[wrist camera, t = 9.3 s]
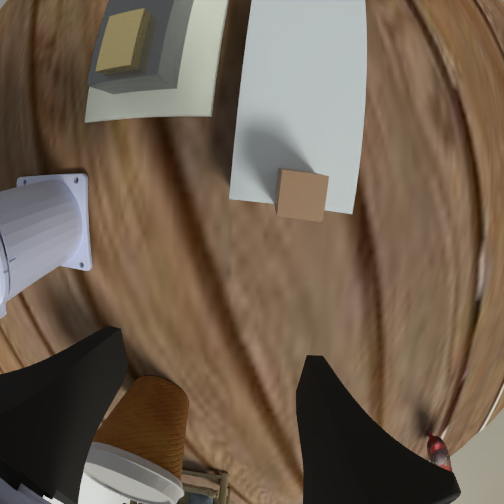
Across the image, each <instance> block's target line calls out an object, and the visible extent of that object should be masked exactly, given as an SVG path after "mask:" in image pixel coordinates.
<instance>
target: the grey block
mask: <svg viewBox="0 0 504 504" xmlns="http://www.w3.org/2000/svg"><path fill="white" fill-rule="evenodd" d="M193 2H194V0H109V3H108V5H107V8H106V11H105V14H104V17H103V20H102V23H101V27H100V30H99V33H98V37H97V41H96V44H95V48H94V52H93V57H92V61H91V65H90V70H89V75H88V80H87V86H89V87H93V88H96V89H99V90H102V91H105V92H108V93H111V94H120V93H128V92H137V91H148V90H162V89H177V84H178V77H179V71H180V65H181V59H182V53H183V48H184V42H185V37H186V32H187V28H188V23H189V18H190V14H191V10H192V6H193Z"/></svg>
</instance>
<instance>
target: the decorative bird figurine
mask: <svg viewBox="0 0 504 504" xmlns="http://www.w3.org/2000/svg"><path fill="white" fill-rule="evenodd" d="M428 432H429V434H428V436H429V438H430V439H429V441H428V443H427V451H428V456H429V459H430V461H431V463H433V464H435V465H437V466H439V467H442V468H444V469H446V470H448V471H451V472H452V468H451V462H450V457H449V453H448V450H447V447H446V445H445V443H444V442H443V440H442V439H441V438H440V437H438V436H433V435H432V433H431V432H430V430H429V429H428Z"/></svg>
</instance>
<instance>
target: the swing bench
mask: <svg viewBox="0 0 504 504" xmlns="http://www.w3.org/2000/svg"><path fill="white" fill-rule="evenodd" d="M182 474H187V475H193V476H199V477H206V478H215V479H221V483H220V491H217V490H213V489H212V488H206V487H199V486H194V485H191V484H186V483H182V482H181V483H182V485H183V490H184V496H183V497H181V498H179V500H178V502H177V503H176V504H229V499H230V492H231V489H230V488H227V487H228V477H229V474H228V473H226V472H223V473H222V475H215V474H207V473H200V472H194V471H188V470H182ZM123 504H126V503H123ZM130 504H137V501H134V500H131V501H130ZM138 504H143V503H140V502H139V503H138Z"/></svg>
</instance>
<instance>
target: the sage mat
mask: <svg viewBox="0 0 504 504" xmlns="http://www.w3.org/2000/svg"><path fill="white" fill-rule="evenodd" d="M228 3H229V0H194V2H193V6H192V10H191V14H190V18H189V23H188V28H187V32H186V37H185V42H184V48H183V53H182V59H181V65H180V71H179V77H178V84H177V89H162V90H148V91H137V92H128V93H120V94H111V93H108V92H105V91H102V90H99V89H96V88H93V87H89V92H88V99H87V106H86V114H85V123H91V122H99V121H108V120H118V119H130V118H145V117H174V116H199V117H212V112H213V103H214V95H215V87H216V79H217V71H218V64H219V57H220V50H221V44H222V38H223V31H224V25H225V20H226V14H227V8H228Z"/></svg>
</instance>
